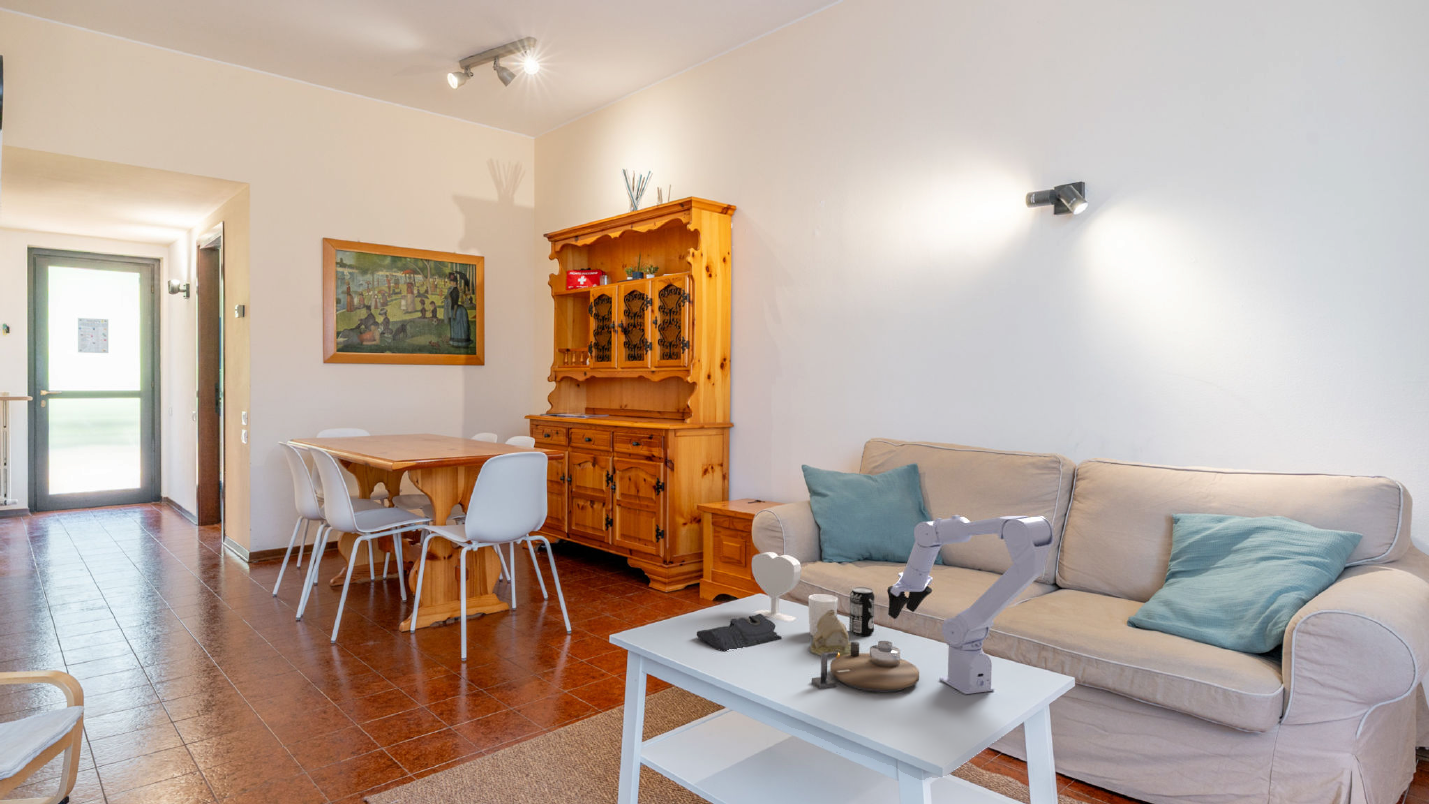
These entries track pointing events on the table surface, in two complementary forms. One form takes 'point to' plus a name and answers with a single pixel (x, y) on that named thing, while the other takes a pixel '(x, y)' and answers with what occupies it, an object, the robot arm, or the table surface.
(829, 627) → the ceramic model
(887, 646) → the cover
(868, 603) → the beverage can
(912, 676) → the turntable
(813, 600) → the white cup
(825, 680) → the grey bent lever
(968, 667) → the robot arm
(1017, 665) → the table surface
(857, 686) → the turntable base
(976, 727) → the table surface
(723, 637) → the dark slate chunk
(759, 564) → the heart sculpture
